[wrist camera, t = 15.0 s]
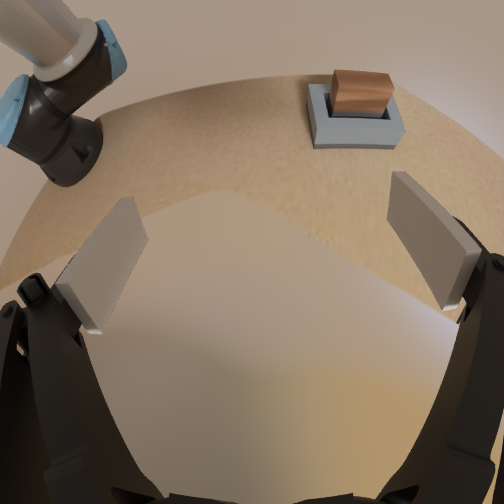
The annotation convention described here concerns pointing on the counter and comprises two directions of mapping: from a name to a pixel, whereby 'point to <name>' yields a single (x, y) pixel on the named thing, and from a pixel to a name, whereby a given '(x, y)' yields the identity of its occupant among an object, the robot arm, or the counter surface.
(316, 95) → the frame block
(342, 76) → the brown wood block
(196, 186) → the counter surface
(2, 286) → the counter surface
